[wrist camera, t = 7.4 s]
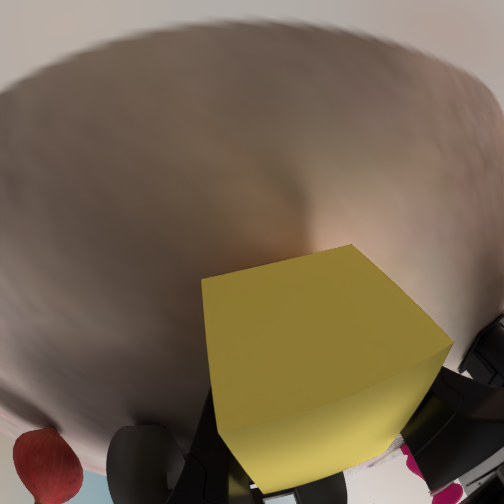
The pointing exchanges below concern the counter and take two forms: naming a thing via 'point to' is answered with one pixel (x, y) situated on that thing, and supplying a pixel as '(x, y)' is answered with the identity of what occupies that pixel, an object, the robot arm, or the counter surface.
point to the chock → (315, 364)
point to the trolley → (170, 467)
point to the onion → (47, 466)
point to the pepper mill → (443, 496)
